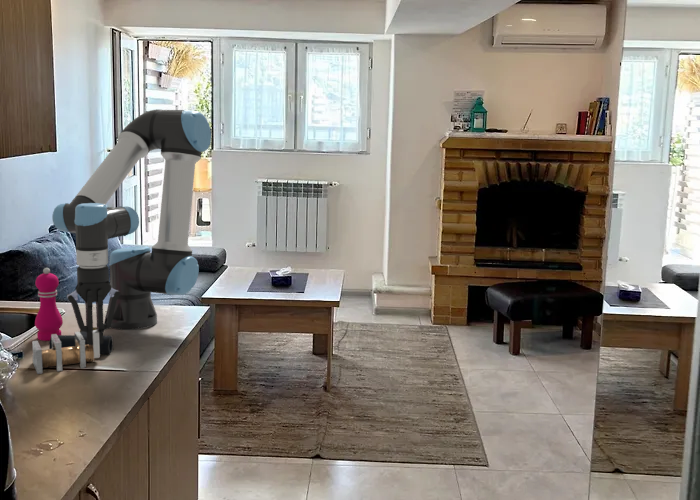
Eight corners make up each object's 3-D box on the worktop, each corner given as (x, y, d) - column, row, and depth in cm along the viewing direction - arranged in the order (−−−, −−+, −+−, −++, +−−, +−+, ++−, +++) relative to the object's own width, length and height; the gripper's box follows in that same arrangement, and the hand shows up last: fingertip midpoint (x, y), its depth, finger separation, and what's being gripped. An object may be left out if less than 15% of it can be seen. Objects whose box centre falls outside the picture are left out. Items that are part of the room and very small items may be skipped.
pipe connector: (62, 324, 203) (118, 325, 204) (63, 343, 204) (118, 343, 205) (48, 338, 191) (108, 338, 192) (49, 357, 192) (108, 357, 193)
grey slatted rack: (79, 357, 192) (78, 330, 191) (85, 367, 184) (84, 339, 183) (32, 362, 186) (31, 335, 185) (37, 374, 179) (36, 345, 177)
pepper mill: (65, 333, 212) (62, 265, 208) (61, 341, 205) (58, 270, 201) (38, 334, 210) (35, 265, 207) (33, 341, 203) (29, 270, 200)
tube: (91, 361, 191) (90, 343, 191) (94, 361, 187) (93, 343, 187) (41, 367, 185) (40, 349, 185) (43, 368, 181) (42, 350, 181)
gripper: (67, 270, 178) (71, 364, 182) (122, 266, 184) (125, 357, 189) (62, 264, 185) (66, 355, 189) (116, 261, 191) (118, 348, 195)
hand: (95, 356), depth 189 cm, fingers closed
